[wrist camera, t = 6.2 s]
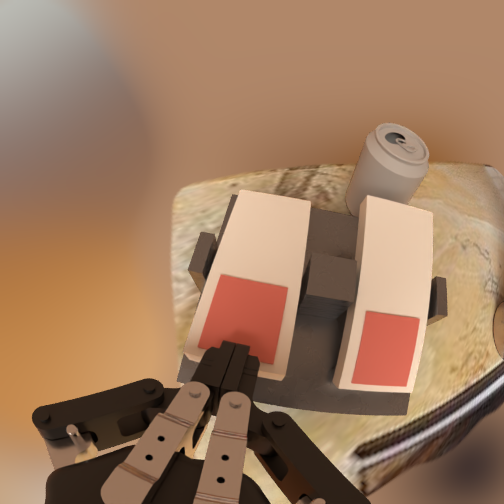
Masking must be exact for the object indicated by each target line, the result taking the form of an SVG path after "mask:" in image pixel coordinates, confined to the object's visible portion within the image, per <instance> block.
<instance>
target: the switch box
mask: <svg viewBox="0 0 504 504" xmlns="http://www.w3.org/2000/svg"><path fill="white" fill-rule="evenodd" d="M237 197H238V195H233V194H232V197H231V200H230V203H229V206H228V209H227V212H226V215H225V218H224V221H223V224H222V227H221V230H220V233H219V236H218V240H217V242H216V238H215V234H210V233H205V232H201V233H200V236H199V239H198V242H197V245H196V248H195V251H194V253H193V256H192V259H191V262H190V265H189V268H188V271H189V273H190V275H191V277H192V278H193V280H194V282H195V283H196V285H197V287H198V288H199V290H200V292H201V295H200V298H199V301H200V299H201V296H202V293H203V290H204V287H205V284H206V281H207V279H208V276H209V273H210V270H211V267H212V264H213V262H214V259H215V256H216V253H217V251H218V248H219V245H220V242H221V240H222V237H223V234H224V232H225V229H226V226H227V223H228V221H229V218H230V215H231V213H232V210H233V208H234V205H235V202H236V200H237ZM358 224H359V217H355V216H350V215H345V214H341V213H336V212H331V211H326V210H321V209H316V208H310V217H309V226H308V235H307V243H306V251H305V259H304V266H303V273H302V280H301V287H300V294H299V301H298V307H297V313H296V319H295V325H294V331H293V337H292V343H291V348H290V354H289V359H288V365H287V370H286V375H285V377H284V378H283V379H282V381H279V380H274V379H268V378H263V377H258V376H257V380H256V384H255V389H254V393H253V401H255V402H260V403H265V404H270V405H276V406H282V407H289V408H295V409H302V410H310V411H319V412H329V413H341V414H356V415H406V414H407V409H408V403H409V397H410V393H402V392H376V391H361V390H349V389H338V388H337V387H336V386H335V384H334V383H333V382H332V381H333V377H334V373H335V369H336V365H337V360H338V356H339V351H340V346H341V342H342V337H343V332H344V326H345V321H346V316H347V310H348V307H349V306H351V305H352V304H353V303H354V297H355V284H356V269H357V261H356V260H355V254H356V245H357V235H358ZM198 304H199V302H198ZM197 307H198V305H197ZM196 310H197V309H196ZM195 313H196V312H195ZM446 316H447V288H446V278H442V277H437V276H436V277H435V278H434V279H432V280H431V291H430V301H429V309H428V317H427V324H426V326H428V325H430V324H432V323H434V322H436V321H438V320H440V319H442V318H444V317H446ZM198 365H199V362H196V361H192V360H189V359H188V357H187V356H186V355H185V354H184V355H183V359H182V363H181V367H180V370H179V374H178V378H177V382H181V383H184V384H186V383H188V382H190V381H191V379H192V377H193V375H194V373H195V371H196V369H197V367H198Z"/></svg>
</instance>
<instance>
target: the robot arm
mask: <svg viewBox="0 0 504 504" xmlns="http://www.w3.org/2000/svg"><path fill="white" fill-rule="evenodd" d="M493 329H494V340H495V344H496V347H497V350H498V352H499V354H500V356H501V357H502V358H503V359H504V302H502V303H501V304H500V305H499V307H498V308H497V310H496V313H495V317H494V325H493ZM249 351H250V346H248V345H244V344H239V343H237V345H236V343H234V342H230V341H225V340H223V341H222V344H221V346H220V348H216V347H211V348H209V349H208V350H206V351H205V353H204V355H203V357H202V359H201V361H200V363H199V365H198V367H197V369H196V371H195V373H194V375H193V377H192V379H191V381H190V382H188V383H186V384H184V385H183V386H182V387H181V388H164V387H163V385H162V384H161V383H160V382H159V381H157V380H155V379H150V378H149V379H143V380H140V381H136V382H133V383H130V384H127V385H123V386H120V387H117V388H114V389H110V390H106V391H103V392H99V393H95V394H92V395H88V396H84V397H80V398H76V399H72V400H68V401H64V402H59V403H55V404H50V405H45V406H41V407H39V408H37V409H36V410H35V411H34V412H33V414H32V421H33V423H34V425H35V426H36V428H37V429H38V431H39V432H40V434H41V436H42V437H43V438H44V440H45V443H46V446H47V449H48V452H49V455H50V458H51V461H52V464H53V466H54V469H55V471H53V472H52V473H51V474H50V475H49V477H48V479H47V482H46V499H45V504H271V503H270V502H269V501H268V499H267V498H266V496H265V495H264V493H263V492H262V490H261V489H260V487H259V486H258V485H257V484H256V482H255V481H254V480H252V479H251V478H250V477H249V476H247V475H245V474H244V473H243V466H244V459H245V452H246V447H247V448H249V449H251V450H253V451H254V454H255V455H256V457H257V458H258V460H259V461H260V463H261V464H262V465H263V467H264V468H265V470H266V471H267V472H268V474H269V475H270V476H271V478H272V479H273V480H274V482H275V483H276V484H277V486H278V487H279V488H280V490H281V491H282V492H283V493H284V495H285V496H286V497H287V498H288V500H289V501H290V502H291V503H292V504H371V503H370V501H369V500H368V499H367V498H366V497H365V496H364V495H363V494H362V493H361V492H360V491H359V490H358V489H357V488H356V487H355V486H354V485H353V484H352V483H351V482H350V481H349V480H348V479H347V478H346V477H345V476H344V475H343V474H342V473H341V472H340V471H339V470H338V469H337V468H336V467H335V466H334V465H333V464H332V463H331V462H330V461H329V460H328V459H327V457H326V456H325V455H324V454H323V453H322V452H321V451H320V450H319V449H318V448H317V447H316V445H315V444H314V443H313V442H312V441H311V440H310V439H309V438H308V436H307V435H306V434H305V433H304V432H303V431H302V430H301V428H300V427H299V426H298V425H297V424H296V423H295V421H294V420H293V419H292V418H291V417H290V416H289V415H288V414H286V413H283V412H278V411H275V412H270V413H266V412H263V411H261V410H260V409H258V408H257V407H256V406H255V404H254V403H253V393H254V389H255V384H256V380H257V376H258V371H259V367H260V362H259V359H258V357H256V356H251V355H249ZM211 415H213V416H217V417H216V422H215V426H214V430H213V431H212V433H211V437H210V441H209V445H208V449H207V453H206V457H205V460H198V459H193V456H194V453H195V451H196V449H197V447H198V445H199V443H200V441H201V439H202V437H203V435H204V433H205V431H206V429H207V426H208V422H209V420H210V417H211ZM140 437H141V438H140ZM138 438H140V440H139V441H138V443H137V444H136V445H131V446H127V447H124V448H121V449H119V450H116V451H113V452H110V453H107V454H104V455H102V456H98V457H96V456H97V453H98V451H101V450H104V449H107V448H111V447H114V446H117V445H120V444H123V443H126V442H129V441H132V440H135V439H138Z"/></svg>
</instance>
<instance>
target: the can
mask: <svg viewBox="0 0 504 504" xmlns="http://www.w3.org/2000/svg"><path fill="white" fill-rule="evenodd" d="M428 158H429V151H428V148H427V146H426V145H425V143H424V141H423V140H422V139H421V138H420V137H419V136H418V135H416V134H415V133H414V132H413V131H411V130H410V129H408V128H406V127H404V126H401V125H398V124H394V123H382V124H380V125H378V126H377V128H376V129H375V130H374V131H372V132H370V133H369V134H368V136H367V138H366V140H365V143H364V146H363V149H362V152H361V154H360V157H359V160H358V163H357V165H356V168H355V171H354V174H353V176H352V179H351V182H350V184H349V187H348V189H347V192H346V198H345V200H346V204H347V207H348V209H349V211H350V212H351V214H352V215H353V216H355V217H359V211H360V204H361V203H362V201H363V200H364V199H365V197H366V196H367V195H370V196H374V197H378V198H382V199H386V200H390V201H394V202H398V203H402V204H405V205H407V204H408V202H409V201H410V199H411V198H412V196H413V194H414V193H415V191H416V190H417V188H418V187H419V185H420V184H421V182H422V180H423V179H424V177H425V176H426V174H427V172H428V168H429V164H428Z"/></svg>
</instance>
